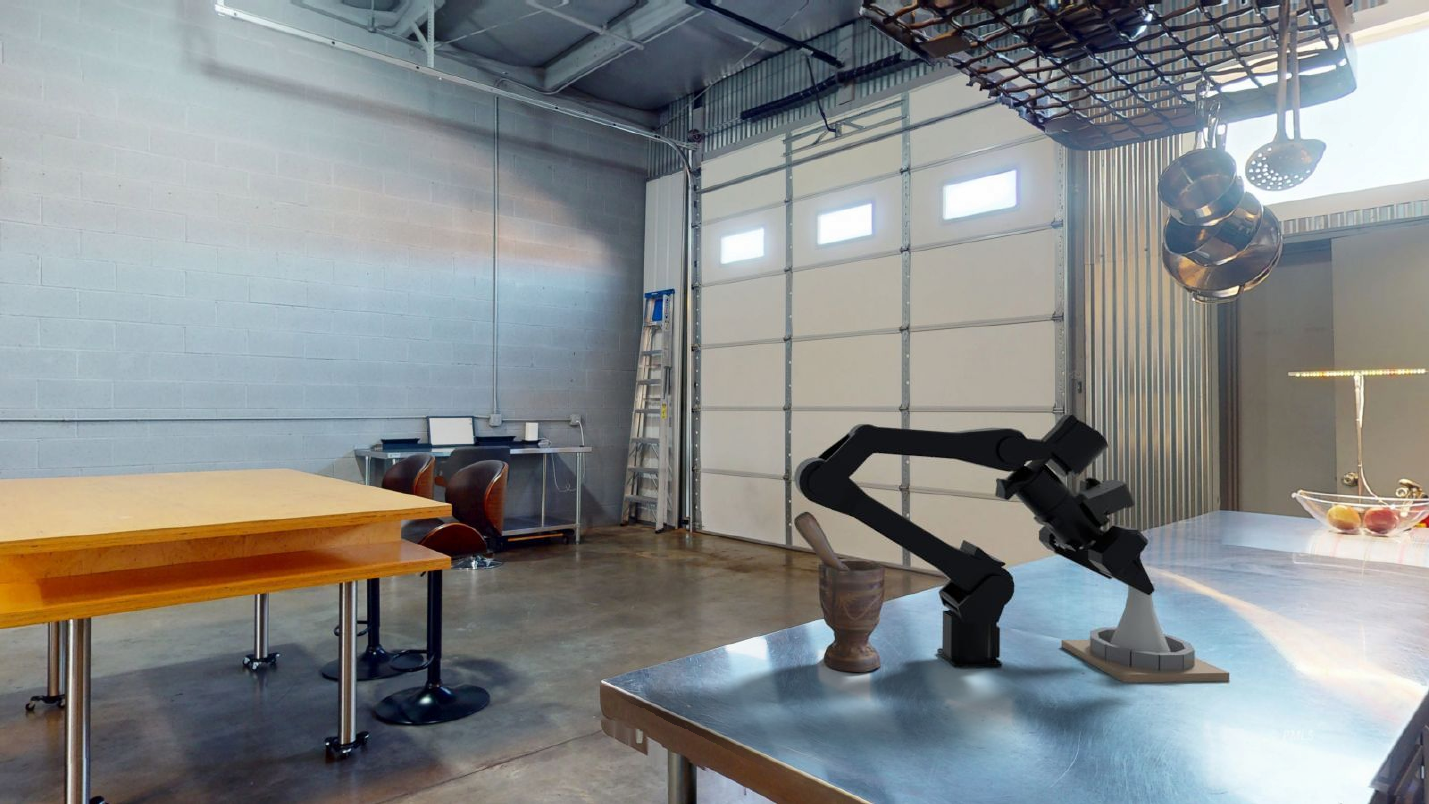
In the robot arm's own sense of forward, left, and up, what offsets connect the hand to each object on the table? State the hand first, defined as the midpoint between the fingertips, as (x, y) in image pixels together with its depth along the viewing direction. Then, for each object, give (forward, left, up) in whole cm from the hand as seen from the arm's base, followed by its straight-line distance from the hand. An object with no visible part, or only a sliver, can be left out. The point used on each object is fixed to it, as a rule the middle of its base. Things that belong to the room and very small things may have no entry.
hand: (1131, 584), depth 99 cm
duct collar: (+1, 0, -10) cm, 11 cm away
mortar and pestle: (-40, +1, -11) cm, 41 cm away
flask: (+1, 0, -10) cm, 10 cm away
